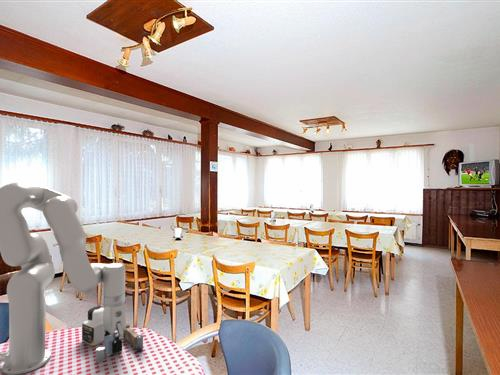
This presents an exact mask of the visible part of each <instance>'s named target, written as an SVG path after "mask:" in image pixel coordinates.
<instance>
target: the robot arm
mask: <svg viewBox="0 0 500 375" xmlns="http://www.w3.org/2000/svg"><path fill="white" fill-rule="evenodd" d="M78 207H79V206H78V203H77V202H76V200H75V199H74V198H73V197H71V196H68V195H66V194H63V193H61V192H58V191H55V190H53V189H52V188H51V189H50V188H49V187H46V186H43V185H41V184H37V183H33V182H12V183H8V184H5V185H3V186H1V187H0V255H1V258H2V260H3V262H4V263H5V264H6V265H8V266H9V267H10V266H11V267H21V269H20V270H19V271H17V272H15V273H14V274H13V275H12V276H11V277H10V279H9V280H8V283H7V286H6V295H7V300H8V313H9V314H8V315H9V316H8V318H9V320H8V323H9V326H8V328H9V330H8V331H9V332H8V337H9V338H8V351H5V352H4V351H3V352H0V363H2V362H3V365H2V366H1V367H2V369H1V371H2V373H3V374H4V375H22V374H26V373H29V372H32V371H34V370H37V369H39V368H40V367H42V366H44V365H45V364H46V363H48V362H49V360H51V356H52V354H51V351H50V350H48V349H46V325H47V324H46V320H47V318H46V316H47V314H46V313H47V307H46V303H47V302H46V297H45V288H46V287H47V286H48V285H49V284H51V282H52V281H53V280H54V277H55V274H56V272H55V271H56V269H55V265H54V262H53V259H52V256H51V253H50V249H49V246H48V243H47V241H46V240H45V239H44V238H43V236H41V235H39V234H38V233H34V232H30V228H29V226H28V225H29V224H28V222H27V220H26V217H25V216H24V214H23V213H22V210H23V209H26V208H32V209H34V210H37V211H40V212H42V214H43V216H44V219H45V221H46V222H47V224H48V227H49V228H50V231H51V233H52V234H53V236H54V238H55V240H56V242H57V244H58V245H57V246H58V249H59V255H60V259H61V264H62V267H63V270H64V272H65V274H66V276H67V278H68V280H69V282H70V284H71V286H72V287H73V288H74V289H75V291H77V292H79V293H83V294H86V293H90V292H92V291H94V290H95V289H96V288H97V286H98V285H99V284H101V293H102V294H101V305H102V307H104V310H103V325H104V328H105V330H104V332H105V334H104V337H105V336H108V335H111V334H112V336H113V342H112V355H115V354H118V353H121V352H122V351H123V339H124V338H123V335H124V333H123V331H125V330H126V324H127V322H126V309H125V301H126V265H125V264H124V263H122V262H111V263H100V262H99V263H97V262H96V263H95V262H93V263H92V262H90V260H89V257H88V253H87V249H86V248H87V247H86V246H87V245H86V244H87V234H86V232H85V230H84V228H83V225H82V223H81V222H80V220H79V218H78V216H77V212H78ZM116 334H118V336H117V337H115V335H116Z"/></svg>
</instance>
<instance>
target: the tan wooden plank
mask: <svg viewBox="0 0 500 375" xmlns="http://www.w3.org/2000/svg"><path fill="white" fill-rule="evenodd" d="M123 333H124V335H123V339H124V340H126V341H127V342H128V343H129V344H130V345H131V346H132V347H133V348H135V349H136V336H138V335H139V334H138V333H137V332H136V331H135V330H134V329H133V328H131V325H130V324H129V323H126V330H125V331H123Z"/></svg>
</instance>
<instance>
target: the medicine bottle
mask: <svg viewBox="0 0 500 375" xmlns="http://www.w3.org/2000/svg"><path fill="white" fill-rule="evenodd" d="M103 310H104V306H101V305H99V306H94V307H91V308H90V309H88V310H87V320H85V321H83V322H82V323H81V325H82V326H81V342H84V343H85V344H88V345H90V346H96V345H98V344H100V343H102V342H104V334H105V332H104V330H105V328H104V325H103Z"/></svg>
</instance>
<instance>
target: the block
mask: <svg viewBox="0 0 500 375" xmlns="http://www.w3.org/2000/svg"><path fill="white" fill-rule="evenodd" d="M117 336H118V334H116V335H115V337H117ZM112 342H113V336H112V334H111V335H108V336H105V337H104V341H103V343H104V344H103V347H105V354H107V355H109V356H111V354H112ZM112 355H113V354H112Z"/></svg>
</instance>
